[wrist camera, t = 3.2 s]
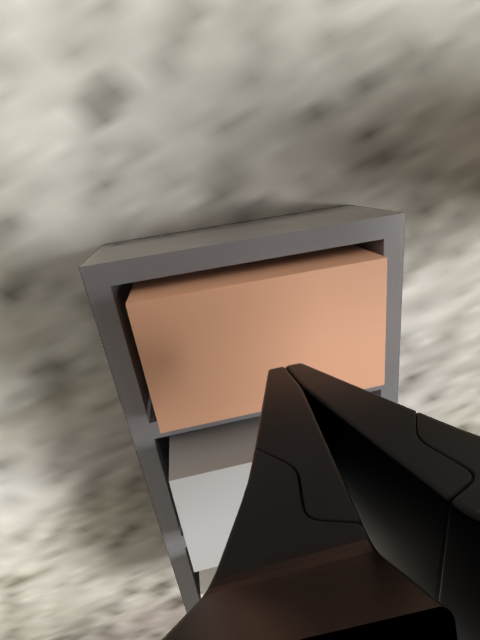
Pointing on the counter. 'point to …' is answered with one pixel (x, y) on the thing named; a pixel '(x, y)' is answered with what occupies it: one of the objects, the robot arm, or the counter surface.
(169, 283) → the terracotta key
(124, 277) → the key panel
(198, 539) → the grey key
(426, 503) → the robot arm
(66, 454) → the counter surface
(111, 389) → the counter surface
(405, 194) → the counter surface
